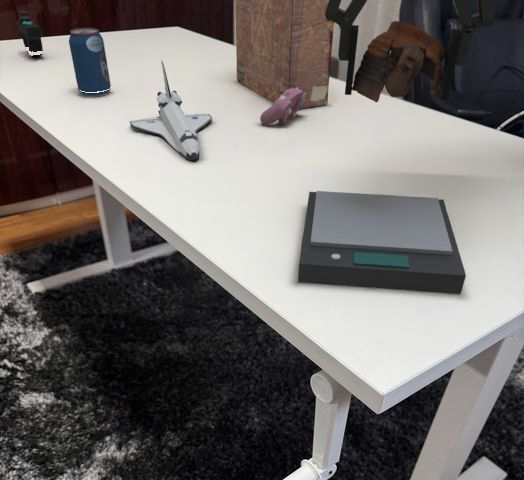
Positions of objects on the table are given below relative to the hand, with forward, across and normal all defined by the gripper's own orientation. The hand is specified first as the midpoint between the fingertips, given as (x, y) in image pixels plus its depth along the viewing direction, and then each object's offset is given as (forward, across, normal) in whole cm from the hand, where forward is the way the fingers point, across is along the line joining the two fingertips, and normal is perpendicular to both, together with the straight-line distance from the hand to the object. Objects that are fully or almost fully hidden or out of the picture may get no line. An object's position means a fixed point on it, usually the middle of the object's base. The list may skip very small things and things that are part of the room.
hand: (395, 94), depth 62 cm
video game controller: (+16, +17, -40) cm, 46 cm away
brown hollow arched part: (0, 0, 0) cm, 0 cm away
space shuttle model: (+16, +34, -28) cm, 47 cm away
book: (+16, +20, -59) cm, 64 cm away
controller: (+17, +88, -81) cm, 120 cm away
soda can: (+16, +60, -52) cm, 80 cm away
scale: (+16, 0, +7) cm, 17 cm away
